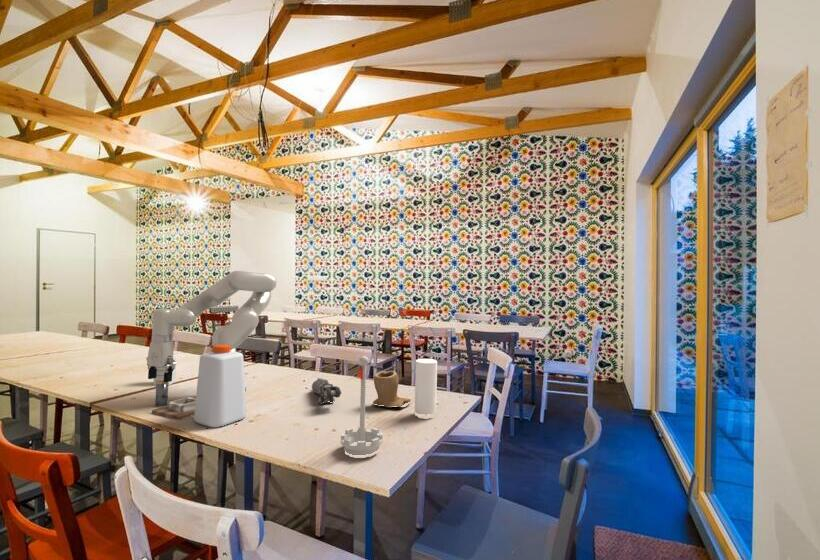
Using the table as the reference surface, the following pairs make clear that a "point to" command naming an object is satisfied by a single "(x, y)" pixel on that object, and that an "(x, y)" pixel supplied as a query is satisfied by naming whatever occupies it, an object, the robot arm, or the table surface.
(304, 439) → the table surface
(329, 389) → the grey lumpy piece
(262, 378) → the table surface
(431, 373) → the tall white tube
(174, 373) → the supplement box
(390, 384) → the stone cup
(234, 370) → the plastic bottle
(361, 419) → the flag stand
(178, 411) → the docking plate
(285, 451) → the table surface
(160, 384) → the gold topped cylinder
